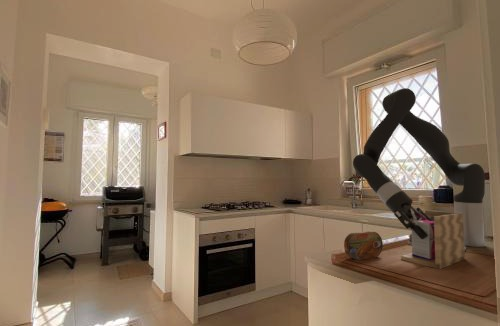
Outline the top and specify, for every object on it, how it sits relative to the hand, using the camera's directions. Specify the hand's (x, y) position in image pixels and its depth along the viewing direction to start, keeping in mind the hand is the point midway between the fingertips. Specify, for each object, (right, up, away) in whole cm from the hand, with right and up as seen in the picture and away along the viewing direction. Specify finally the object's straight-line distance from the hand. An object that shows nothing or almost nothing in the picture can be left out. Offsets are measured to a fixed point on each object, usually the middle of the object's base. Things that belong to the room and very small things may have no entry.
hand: (431, 236), depth 85 cm
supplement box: (-1, -7, +1) cm, 7 cm away
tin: (-20, -8, +4) cm, 22 cm away
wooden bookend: (+3, -8, +3) cm, 9 cm away
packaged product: (+16, -11, +21) cm, 29 cm away
